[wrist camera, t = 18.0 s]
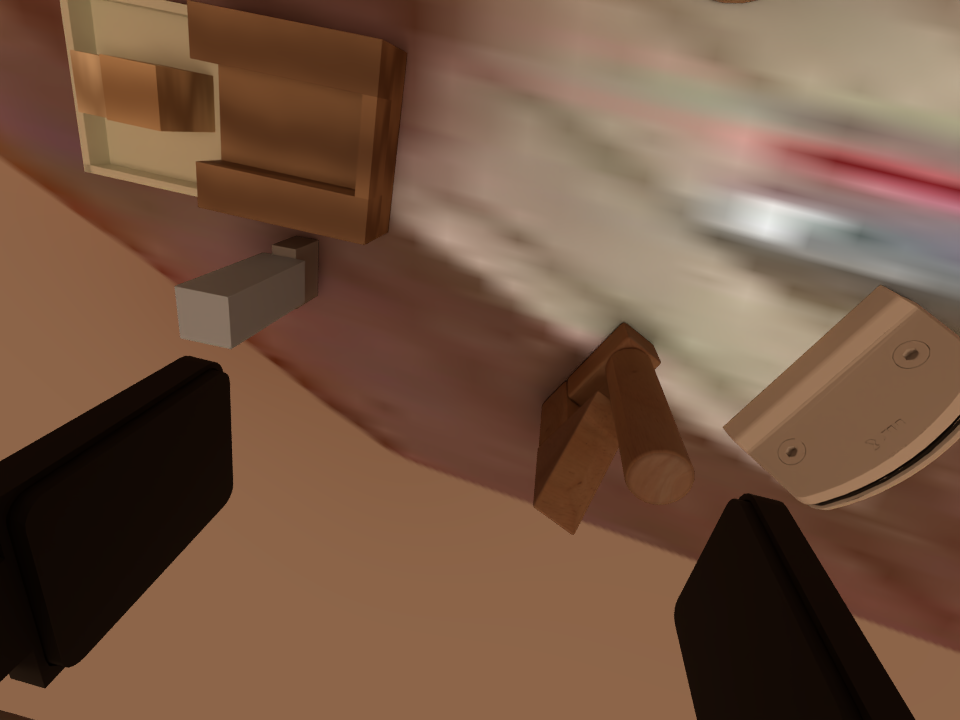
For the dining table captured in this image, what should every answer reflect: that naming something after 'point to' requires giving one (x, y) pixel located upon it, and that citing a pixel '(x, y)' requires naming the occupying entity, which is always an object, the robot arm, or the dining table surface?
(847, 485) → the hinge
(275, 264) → the square grey bottle
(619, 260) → the dining table surface
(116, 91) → the oak block
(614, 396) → the tan angled rod fixture
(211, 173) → the groove board
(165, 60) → the tray
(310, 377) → the dining table surface
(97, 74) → the birch block
